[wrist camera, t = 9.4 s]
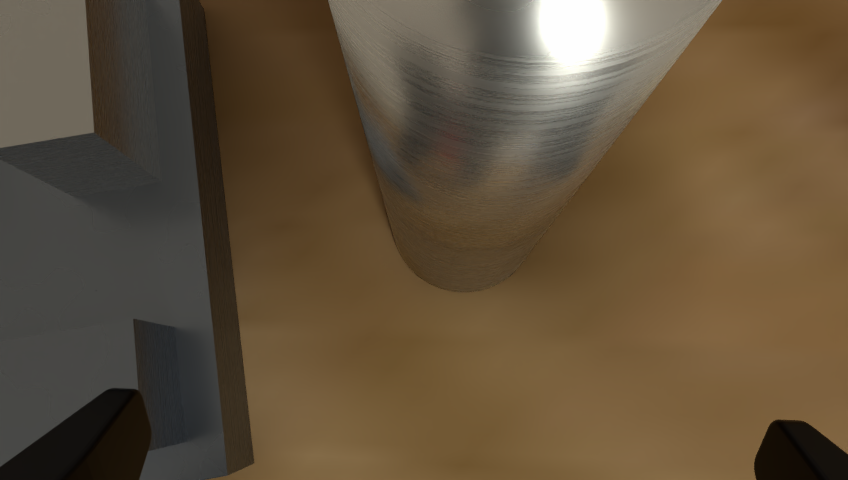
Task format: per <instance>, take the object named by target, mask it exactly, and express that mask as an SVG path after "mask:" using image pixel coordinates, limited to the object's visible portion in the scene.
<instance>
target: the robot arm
mask: <svg viewBox="0 0 848 480" xmlns="http://www.w3.org/2000/svg"><path fill="white" fill-rule="evenodd" d="M151 435H152V432H151V425H150V422H149V418H148V414H147V411H146V407H145V403H144V400H143V396H142V394H141V392H140V391H139V390H137V389H130V388H110V389H108V390H106V391H104V392H103V393H101V394H100V395H98V396H97V397H96V398H94V399H93V400H92V401H90V402H89V403H87V404H86V405H85V406H83V407H82V408H80V409H79V410H78V411H76V412H75V413H74V414H72V415H71V416H69V417H68V418H67V419H65V420H64V421H63V422H61V423H60V424H58V425H57V426H56V427H54V428H53V429H52V430H50V431H49V432H47V433H46V434H45V435H43V436H42V437H40V438H39V439H38V440H36V441H35V442H34V443H32V444H31V445H29V446H28V447H27V448H25V449H24V450H23V451H21V452H20V453H18V454H17V455H16V456H14V457H13V458H12V459H10V460H9V461H7V462H6V463H5V464H3V465H2V466H0V480H139V479H140V476H141V472H142V469H143V466H144V463H145V460H146V456H147V453H148V450H149V447H150V443H151ZM754 470H755V476H756V480H848V454H847V453H845V452H844V451H843V450H842V449H840V448H839V447H838V446H836V445H835V444H834V443H833V442H831V441H830V440H829V439H828V438H826V437H825V436H824V435H822V434H821V433H820V432H819V431H817V430H816V429H815V428H814V427H812V426H811V425H809V424H808V423H806V422H804V421H798V420H775V421H773V422H772V423H771V424H770V425H769V427H768V430H767V432H766V434H765V436H764V439H763V441H762V443H761V446H760V448H759V450H758V452H757V455H756V458H755V462H754Z"/></svg>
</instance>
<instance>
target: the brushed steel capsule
mask: <svg viewBox="0 0 848 480" xmlns="http://www.w3.org/2000/svg"><path fill="white" fill-rule="evenodd" d="M721 1H722V0H328V2H329V6H330V9H331V13H332V16H333V20H334V24H335V27H336V31H337V34H338V38H339V42H340V45H341V49H342V52H343V56H344V60H345V63H346V67H347V70H348V74H349V78H350V81H351V85H352V89H353V92H354V96H355V99H356V103H357V107H358V110H359V114H360V117H361V121H362V125H363V128H364V132H365V135H366V139H367V143H368V146H369V150H370V153H371V157H372V161H373V164H374V168H375V171H376V175H377V179H378V182H379V186H380V189H381V193H382V197H383V200H384V204H385V208H386V211H387V215H388V218H389V222H390V226H391V229H392V233H393V236H394V240H395V244H396V246H397V249H398V251H399V253H400V255H401V257H402V258H403V260H404V262H405V263H406V264H407V265H408V267H409V268H410V269H411V270H412V271H413V272H414V273H415V274H416V275H417V276H419V277H420V278H421V279H423V280H424V281H426V282H428V283H429V284H431V285H433V286H436V287H438V288H441V289H444V290H448V291H454V292H474V291H480V290H484V289H487V288H490V287H492V286H495V285H497V284H499V283H500V282H502V281H504V280H505V279H506V278H508V277H509V276H510V275H512V274H513V273H514V272H515V271H516V270H517V268H518V267H519V266H520V265H521V264H522V262H523V261H524V260H525V258H526V257H527V256H528V254H529V253H530V252H531V250H532V249H533V248H534V247H535V245H536V244H537V243H538V241H539V240H540V239H541V237H542V236H543V235H544V233H545V232H546V231H547V229H548V228H549V227H550V226H551V224H552V223H553V222H554V220H555V219H556V218H557V216H558V215H559V214H560V212H561V211H562V210H563V208H564V207H565V206H566V205H567V203H568V202H569V201H570V199H571V198H572V197H573V195H574V194H575V193H576V191H577V190H578V189H579V187H580V186H581V185H582V184H583V182H584V181H585V180H586V178H587V177H588V176H589V174H590V173H591V172H592V170H593V169H594V168H595V166H596V165H597V164H598V163H599V161H600V160H601V159H602V157H603V156H604V155H605V153H606V152H607V151H608V149H609V148H610V147H611V145H612V144H613V143H614V142H615V140H616V139H617V138H618V136H619V135H620V134H621V132H622V131H623V130H624V128H625V127H626V126H627V124H628V123H629V122H630V121H631V119H632V118H633V117H634V115H635V114H636V113H637V111H638V110H639V109H640V107H641V106H642V105H643V103H644V102H645V101H646V99H647V98H648V97H649V96H650V94H651V93H652V92H653V90H654V89H655V88H656V86H657V85H658V84H659V82H660V81H661V80H662V78H663V77H664V76H665V75H666V73H667V72H668V71H669V69H670V68H671V67H672V65H673V64H674V63H675V61H676V60H677V59H678V57H679V56H680V55H681V54H682V52H683V51H684V50H685V48H686V47H687V46H688V44H689V43H690V42H691V40H692V39H693V38H694V36H695V35H696V34H697V33H698V31H699V30H700V29H701V27H702V26H703V25H704V23H705V22H706V21H707V19H708V18H709V17H710V15H711V14H712V13H713V12H714V10H715V9H716V8H717V6H718V5H719V4H720V2H721Z"/></svg>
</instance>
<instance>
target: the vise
mask: <svg viewBox="0 0 848 480" xmlns="http://www.w3.org/2000/svg"><path fill="white" fill-rule="evenodd" d="M110 388H130V389H137V390H139V391H140V392H141V394H142V396H143V400H144V403H145V407H146V411H147V414H148V418H149V422H150V425H151V432H152V435H151V443H150V447H149V450H148V453H147V456H146V460H145V463H144V466H143V469H142V472H141V476H140V479H139V480H205V479H210V478H216V477H222V476H227V475H230V474H232V473H234V472H236V471H238V470H241V469H243V468H245V467H247V466H249V465H251V464H253V463H254V459H253V450H252V441H251V432H250V423H249V414H248V404H247V395H246V386H245V377H244V368H243V359H242V350H241V341H240V332H239V323H238V314H237V305H236V296H235V287H234V278H233V269H232V260H231V251H230V242H229V233H228V224H227V214H226V205H225V196H224V187H223V178H222V169H221V160H220V151H219V142H218V133H217V124H216V115H215V106H214V97H213V88H212V79H211V70H210V61H209V52H208V43H207V34H206V25H205V15H204V8H203V7H202V5H201V3H200V2H199V0H0V466H2V465H3V464H5V463H6V462H7V461H9V460H10V459H12V458H13V457H14V456H16V455H17V454H18V453H20V452H21V451H23V450H24V449H25V448H27V447H28V446H29V445H31V444H32V443H34V442H35V441H36V440H38V439H39V438H40V437H42V436H43V435H45V434H46V433H47V432H49V431H50V430H52V429H53V428H54V427H56V426H57V425H58V424H60V423H61V422H63V421H64V420H65V419H67V418H68V417H69V416H71V415H72V414H74V413H75V412H76V411H78V410H79V409H80V408H82V407H83V406H85V405H86V404H87V403H89V402H90V401H92V400H93V399H94V398H96V397H97V396H98V395H100V394H101V393H103V392H104V391H106V390H108V389H110Z"/></svg>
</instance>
